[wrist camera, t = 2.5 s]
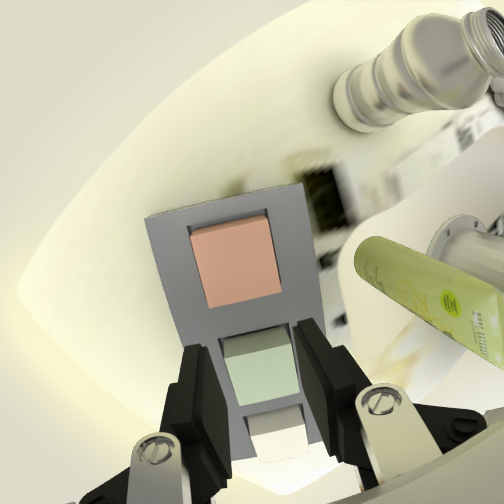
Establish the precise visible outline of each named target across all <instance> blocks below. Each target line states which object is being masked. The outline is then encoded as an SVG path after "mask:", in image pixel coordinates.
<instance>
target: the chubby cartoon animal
mask: <svg viewBox="0 0 504 504" xmlns="http://www.w3.org/2000/svg"><path fill="white" fill-rule="evenodd" d="M490 86H491V89H492V90H493V91H494V101H495V103H496V105H497V106H499V107H504V77H503V78H494V77H492V80H491V83H490Z"/></svg>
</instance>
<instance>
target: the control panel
mask: <svg viewBox="0 0 504 504" xmlns="http://www.w3.org/2000/svg"><path fill="white" fill-rule="evenodd" d="M261 214H262V215H263V216H264V217H266V218H267V219H268V224H269V229H270V234H271V239H272V244H273V249H274V254H275V259H276V264H277V269H278V275H279V280H280V285H281V290H282V292H279V293H275V294H271V295H267V296H263V297H258V298H254V299H250V300H245V301H241V302H236V303H232V304H227V305H223V306H218V307H214V308H209V306H208V303H207V299H206V296H205V292H204V288H203V285H202V281H201V277H200V274H199V270H198V266H197V262H196V258H195V255H194V251H193V247H192V243H191V239H190V236H191V234H192V232H193V231H194V230H195V229H199V228H203V227H207V226H212V225H216V224H220V223H225V222H229V221H234V220H238V219H243V218H247V217H252V216H256V215H261ZM144 220H145V224H146V228H147V232H148V236H149V240H150V243H151V247H152V251H153V254H154V258H155V261H156V265H157V268H158V272H159V275H160V278H161V282H162V285H163V288H164V292H165V295H166V298H167V301H168V304H169V307H170V310H171V313H172V316H173V319H174V322H175V325H176V328H177V331H178V334H179V337H180V340H181V342H182V345H183V348H184V347H185V346H188V345H193V344H198V343H200V344H201V345H202V347H204V346H207V348H208V350H209V353H210V356H211V359H212V362H213V365H214V368H215V371H216V374H217V377H218V380H219V382H220V385H221V388H222V391H223V394H224V396H225V399H226V402H227V407H228V421H229V438H230V453H231V461H234V460H241V459H247V458H252V457H258V456H257V454H256V451H255V448H254V445H253V443H252V440H251V437H250V431H249V424H248V416H249V415H254V414H258V413H263V412H267V411H272V410H276V409H280V408H284V407H289V406H292V405H296V404H298V406H299V409H300V411H301V414H302V417H303V420H304V423H305V428H306V434H307V440H308V445H309V444H313V443H316V442H320V441H323V439H322V437H321V434H320V432H319V429H318V427H317V424H316V422H315V419H314V417H313V414H312V411H311V409H310V406H309V404H308V401H307V399H306V396H305V394H304V391H303V388H302V383H301V377H300V371H299V365H298V359H297V353H296V347H295V341H294V335H293V329H292V327H293V326H297V321H300V320H304V319H308V318H313V319H314V320H315V322H316V323H317V325H318V327H319V328H320V330H321V331H322V333H323V334H324V336H325V337H326V331H325V323H324V314H323V306H322V299H321V291H320V284H319V277H318V270H317V263H316V257H315V250H314V244H313V238H312V232H311V226H310V220H309V214H308V209H307V203H306V198H305V192H304V187H303V183H293V184H288V185H283V186H278V187H273V188H268V189H263V190H258V191H253V192H248V193H244V194H239V195H234V196H230V197H225V198H221V199H217V200H212V201H208V202H204V203H200V204H195V205H191V206H187V207H183V208H179V209H175V210H171V211H167V212H163V213H159V214H155V215H152V216H149V217H147V218H145V219H144ZM280 326H284V328H285V330H286V332H287V335H288V337H289V339H290V342H291V345H292V351H293V356H294V362H295V368H296V374H297V379H298V385H299V391H300V392H299V393H295V394H291V395H287V396H283V397H279V398H275V399H271V400H266V401H262V402H257V403H252V404H248V405H243V406H239V403H238V400H237V397H236V394H235V391H234V388H233V385H232V382H231V379H230V376H229V372H228V369H227V366H226V363H225V360H224V339H228V338H232V337H237V336H242V335H246V334H250V333H255V332H259V331H263V330H268V329H272V328H276V327H280Z"/></svg>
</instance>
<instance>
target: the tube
mask: <svg viewBox="0 0 504 504" xmlns="http://www.w3.org/2000/svg"><path fill="white" fill-rule="evenodd" d="M354 266H355V269H356V272H357V274H358V275H359V276H360V277H361V278H362V279H364V280H365V281H366V282H368V283H369V284H371V285H372V286H374V287H375V288H377V289H378V290H380V291H381V292H382V293H384V294H385V295H387V296H388V297H390V298H391V299H393V300H394V301H396V302H397V303H399V304H400V305H401V306H403V307H404V308H406V309H408V310H409V311H411V312H412V313H413V314H415V315H417V316H418V317H420V318H421V319H423V320H424V321H426V322H427V323H429V324H430V325H432V326H433V327H435V328H436V329H438V330H439V331H441V332H442V333H444V334H446V335H447V336H449V337H450V338H452V339H453V340H455V341H457V342H458V343H460V344H461V345H463V346H465V347H466V348H468V349H469V350H471V351H472V352H474V353H476V354H477V355H479V356H480V357H482V358H484V359H485V360H487V361H489V362H490V363H492V364H494V365H495V366H497V367H499V368H501V369H503V370H504V293H502V292H501V291H499V290H498V289H497V288H495V287H494V286H492V285H490V284H488V283H486V282H484V281H482V280H480V279H478V278H476V277H473V276H471V275H469V274H467V273H465V272H463V271H461V270H458V269H456V268H454V267H452V266H450V265H447V264H445V263H443V262H441V261H438V260H436V259H434V258H431V257H429V256H427V255H424V254H422V253H419V252H417V251H415V250H412V249H410V248H408V247H405V246H403V245H401V244H398V243H396V242H393V241H390V240H388V239H386V238H383V237H379V236H373V237H370V238H367V239H366V240H364V241H363V242H362V243H361V244H360V245H359V247H358V248H357V250H356V253H355V256H354Z"/></svg>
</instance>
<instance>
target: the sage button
mask: <svg viewBox="0 0 504 504" xmlns="http://www.w3.org/2000/svg"><path fill="white" fill-rule="evenodd" d="M224 360H225V363H226V366H227V369H228V372H229V376H230V379H231V382H232V385H233V388H234V391H235V394H236V397H237V400H238V403H239V406H243V405H248V404H252V403H257V402H262V401H266V400H271V399H275V398H279V397H283V396H287V395H291V394H295V393H299V392H300V391H299V385H298V379H297V374H296V368H295V362H294V356H293V351H292V345H291V342H290V339H289V337H288V335H287V332H286V330H285V328H284V326H280V327H276V328H272V329H268V330H263V331H259V332H255V333H250V334H246V335H242V336H237V337H232V338H228V339H224Z"/></svg>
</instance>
